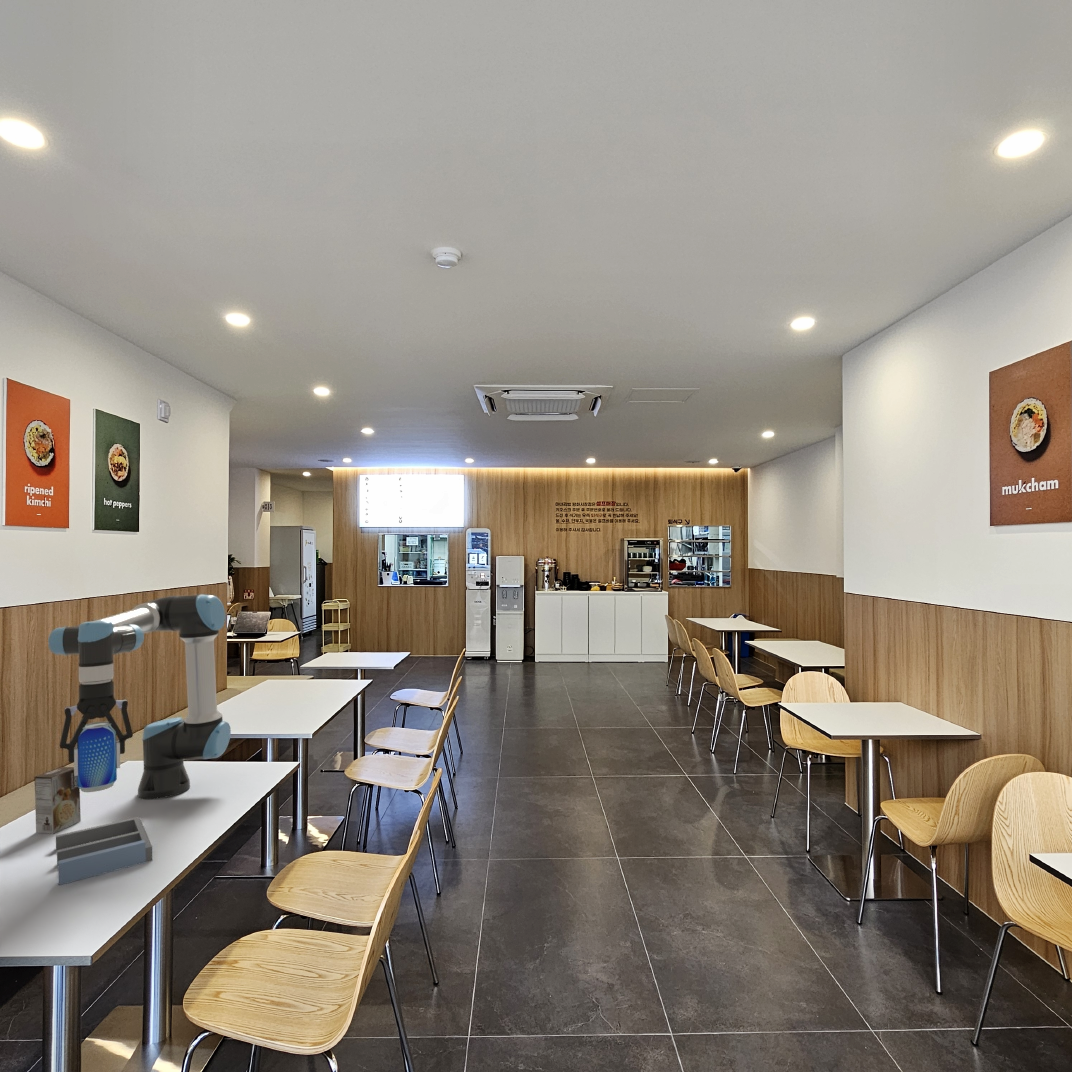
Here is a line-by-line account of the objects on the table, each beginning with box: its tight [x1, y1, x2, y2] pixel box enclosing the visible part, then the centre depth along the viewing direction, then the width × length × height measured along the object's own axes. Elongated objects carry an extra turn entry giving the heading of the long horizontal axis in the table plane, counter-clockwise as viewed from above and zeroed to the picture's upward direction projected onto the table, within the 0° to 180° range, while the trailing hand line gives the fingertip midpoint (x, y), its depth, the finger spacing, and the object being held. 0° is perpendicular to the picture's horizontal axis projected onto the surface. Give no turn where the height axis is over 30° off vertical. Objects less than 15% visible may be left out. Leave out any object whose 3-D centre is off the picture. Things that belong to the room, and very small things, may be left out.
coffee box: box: [33, 766, 82, 834], centre depth 197 cm, size 9×6×16 cm
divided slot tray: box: [55, 816, 153, 886], centre depth 177 cm, size 20×26×5 cm
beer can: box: [76, 721, 118, 793], centre depth 173 cm, size 8×8×16 cm
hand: (97, 770), depth 173 cm, fingers closed on beer can, 8 cm apart
